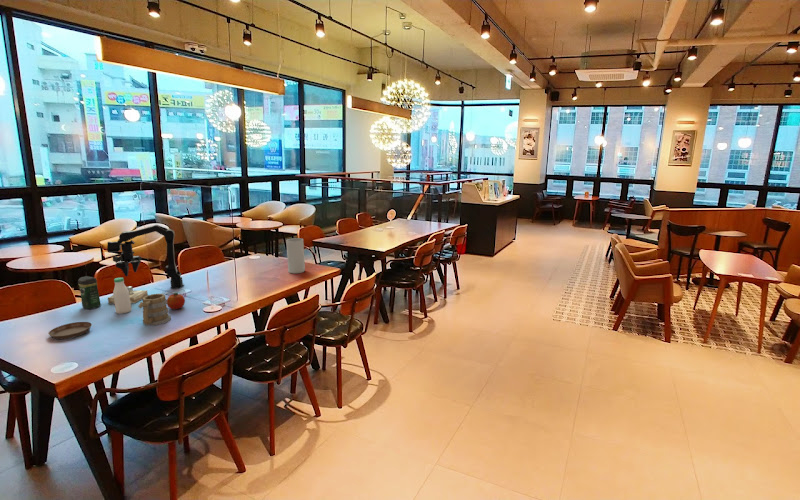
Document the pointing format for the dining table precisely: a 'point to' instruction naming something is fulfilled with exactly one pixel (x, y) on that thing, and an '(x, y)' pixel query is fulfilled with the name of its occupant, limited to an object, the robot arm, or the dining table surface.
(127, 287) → the tall grey box
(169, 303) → the fruit
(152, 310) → the tankard
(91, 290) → the coffee jar
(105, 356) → the dining table surface
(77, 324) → the plant saucer
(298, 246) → the cylinder vase
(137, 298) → the well block
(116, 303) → the milk bottle
